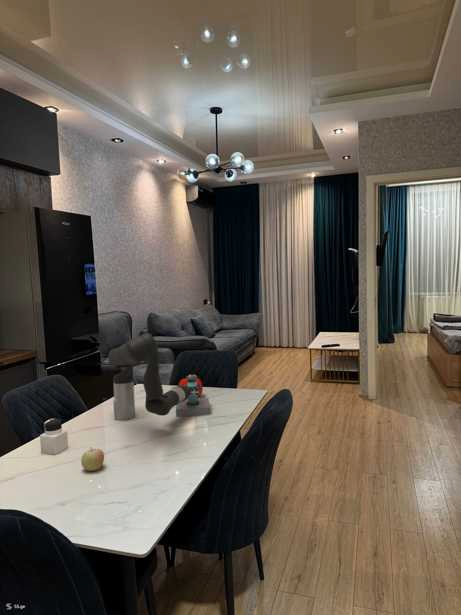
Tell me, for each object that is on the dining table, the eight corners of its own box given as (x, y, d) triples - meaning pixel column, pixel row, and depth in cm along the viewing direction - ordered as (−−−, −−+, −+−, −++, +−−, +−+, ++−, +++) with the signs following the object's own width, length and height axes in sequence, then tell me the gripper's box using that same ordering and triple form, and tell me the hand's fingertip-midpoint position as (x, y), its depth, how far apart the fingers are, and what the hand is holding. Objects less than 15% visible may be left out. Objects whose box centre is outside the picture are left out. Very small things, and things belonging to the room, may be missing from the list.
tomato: (201, 401, 221) (201, 381, 221) (176, 401, 222) (176, 382, 221) (203, 393, 235) (203, 375, 234) (180, 394, 235) (179, 375, 234)
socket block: (176, 416, 198) (175, 409, 198) (177, 406, 214) (176, 399, 214) (210, 414, 199) (209, 407, 199) (208, 404, 215) (208, 397, 215)
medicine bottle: (68, 447, 166) (66, 418, 165) (55, 455, 159) (53, 424, 158) (54, 445, 168) (52, 416, 167) (40, 453, 162) (38, 422, 161)
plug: (187, 404, 203) (186, 376, 202) (187, 401, 208) (186, 374, 207) (198, 403, 204) (197, 376, 203) (198, 400, 209) (196, 373, 208)
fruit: (92, 475, 142) (90, 452, 141) (77, 471, 146) (76, 448, 145) (109, 466, 148) (108, 444, 147) (95, 462, 152) (94, 440, 151)
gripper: (191, 388, 189) (207, 379, 205) (163, 386, 195) (181, 377, 211) (191, 404, 190) (208, 394, 206) (164, 402, 195) (182, 392, 211)
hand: (194, 386), depth 208 cm, fingers closed on plug, 4 cm apart
